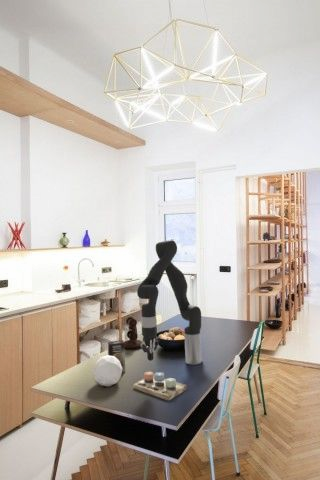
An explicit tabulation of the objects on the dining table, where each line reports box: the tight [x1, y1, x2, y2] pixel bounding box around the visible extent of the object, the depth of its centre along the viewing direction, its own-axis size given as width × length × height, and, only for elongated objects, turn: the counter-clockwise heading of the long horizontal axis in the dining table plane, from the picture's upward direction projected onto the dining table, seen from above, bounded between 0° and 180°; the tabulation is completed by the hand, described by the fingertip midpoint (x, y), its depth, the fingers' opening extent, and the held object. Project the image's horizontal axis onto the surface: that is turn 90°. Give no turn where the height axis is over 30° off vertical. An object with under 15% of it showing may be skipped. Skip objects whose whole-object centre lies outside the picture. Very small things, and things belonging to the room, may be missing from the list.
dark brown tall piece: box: [123, 316, 143, 351], centre depth 229 cm, size 15×15×20 cm
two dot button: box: [143, 371, 155, 381], centre depth 165 cm, size 5×5×2 cm
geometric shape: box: [92, 354, 123, 387], centre depth 169 cm, size 14×15×15 cm
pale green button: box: [165, 377, 177, 388], centre depth 156 cm, size 5×5×2 cm
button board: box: [132, 378, 188, 401], centre depth 161 cm, size 14×22×3 cm, turn 50°
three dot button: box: [154, 372, 166, 382], centre depth 161 cm, size 5×5×2 cm
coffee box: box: [107, 339, 126, 373], centre depth 187 cm, size 9×6×16 cm
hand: (150, 360), depth 164 cm, fingers closed
